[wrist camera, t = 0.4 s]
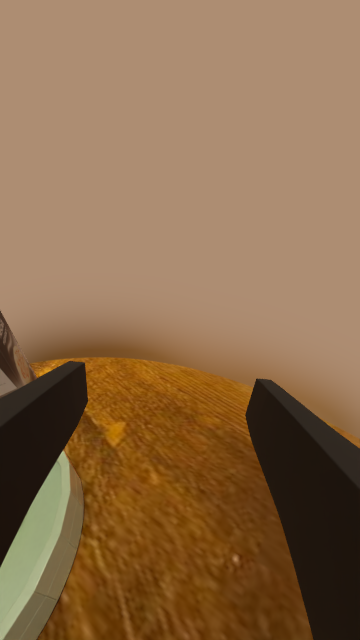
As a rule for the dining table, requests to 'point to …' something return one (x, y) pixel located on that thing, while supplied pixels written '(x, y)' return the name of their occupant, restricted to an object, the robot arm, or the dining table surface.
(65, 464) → the green round dish
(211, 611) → the dining table surface
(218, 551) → the dining table surface
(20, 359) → the coffee box
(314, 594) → the robot arm
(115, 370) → the dining table surface
